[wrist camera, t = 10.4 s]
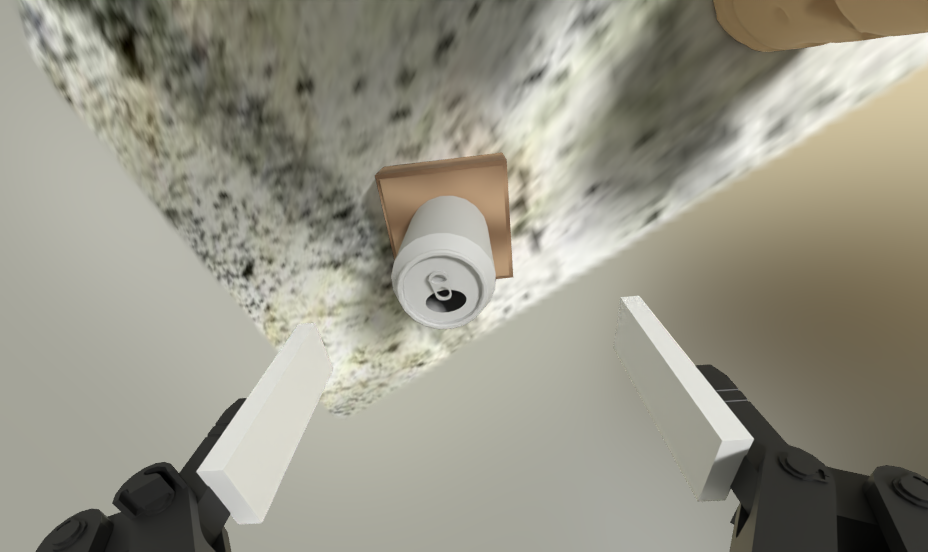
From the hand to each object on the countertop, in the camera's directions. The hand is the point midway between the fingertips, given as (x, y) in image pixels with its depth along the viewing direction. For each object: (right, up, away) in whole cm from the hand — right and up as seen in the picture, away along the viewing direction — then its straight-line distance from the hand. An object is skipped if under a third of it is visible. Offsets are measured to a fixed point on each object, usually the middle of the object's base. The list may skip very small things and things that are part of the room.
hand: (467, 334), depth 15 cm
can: (-2, +7, +19) cm, 20 cm away
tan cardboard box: (-2, +9, +22) cm, 24 cm away
